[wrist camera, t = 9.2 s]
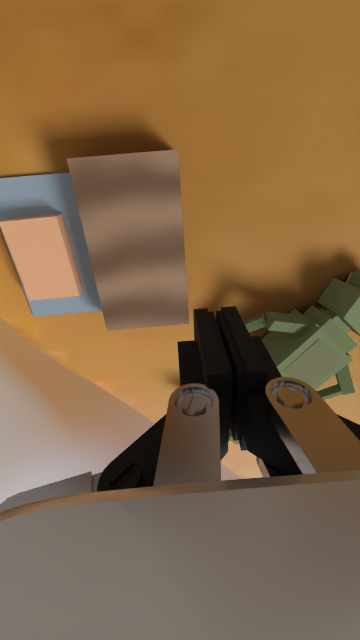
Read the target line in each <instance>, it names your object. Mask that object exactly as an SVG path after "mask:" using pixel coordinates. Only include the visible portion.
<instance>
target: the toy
mask: <svg viewBox="0 0 360 640" xmlns="http://www.w3.org/2000/svg"><path fill="white" fill-rule="evenodd" d="M317 302H318V303H319V304H320V305H321V306H322V307H323V308H324V309H325V310H324V311H323V312H321V311H320V310H319V309H317V308H316V307H314V306H313V305H312V306H311V307H310V308H309V309H308V310H307V311H305V313H304V314H303V315H302V314H301V313H300V312H299V311H298V310H296V309H294V310H293V311H292V312H290V313H288V314H286V313H278V312H270V311H268V312H267V313H266V315H265V313H263V314H261V315H258V316H256V317H253V318H251V319H248V320H246V321H243V322H244V324H245V326H246V328H247V330H248V332H249V333H250V332H253V331H255V330H258V329H261V328H263V327H266V328H267V330H269V331H270V332H269V333H268V334H267V335H266V336H265V337H264V338H263V339H261V340H262V341H263V343H264V345H265V347H266V349H267V350H268V352H269V354H270V356H271V358H272V359H273V361H274V363H275V365H276V367H277V369H278V370H279V372H280V374H281V376H282V377H291V378H296V379H299V380H301V381H303V382H305V383H307V384H308V385H310V386H311V387H312V388H313V389H314V390H315V391H316V389H317V388H318V387H320V386H321V385H322V384H323V383H325V382H326V381H327V380H328V379H330V378H331V377H332V376H333V375H336V378H337V382H338V384H337V385H334V386H331V387H328V388H326V389H323V390H320V391H316V392H317V393H318V394H319V396H320V397H321V398H322V399H323V400H325V399H328V398H331V397H334V396H338V395H341V394H343V395H344V394H349V393H354V392H355V390H354V386H353V383H352V379H351V376H350V371H349V368H348V365H347V364H348V363H350V362H351V361H352V359H350V357H351V356H350V355H349V354H348V353H347V352H349V351H351V350H352V349H353V348H354V347H355V346H357V344H356V343H355V342H354V341H353V340H352V339H351V338H350V337H349V336H348V335H347V334H346V333H347V332H348V331H349V330H352V331H353V332H355V333H356V334H358V335H359V336H360V271H353V272H351V273H350V275H349V277H348V279H347V281H346V283H345V282H343V281H340V280H338V279H336V278H333V280H332V281H331V282H330V284H329V285H328V286H327V288H326V289H325V291H324V292H323V294H322V295H321V297H320V298H319V299H318V301H317ZM229 440H231V441H232V442H234V443H235V444H239V440H237V441H234V440H233V438H232V434H231V430H230V438H229Z"/></svg>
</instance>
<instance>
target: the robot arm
mask: <svg viewBox="0 0 360 640" xmlns="http://www.w3.org/2000/svg"><path fill="white" fill-rule="evenodd" d="M194 338H195V341H181V342H178V355H179V370H180V387H179V388H177V389H176V390H175V391H174V392H173V393H172V394H171V396H170V399H169V404H168V409H167V414H166V415H165V416H164V417H162V418H161V419H160V420H159V421H158V422H157V423H155V424H154V425H153V426H152V427H151V428H150V429H149V430H148V431H146V432H145V433H144V434H143V435H142V436H141V437H139V438H138V439H137V440H136V441H135V442H134V443H133V444H131V445H130V446H129V447H128V448H127V449H126V450H124V451H123V452H122V453H121V454H120V455H119V456H118V457H117V458H115V459H114V460H113V461H112V462H111V463H110V464H109V465H108V466H107V467H106V468H105V469H104V471H103V472H101V473H98V474H95V475H92V473H91V472H88V473H84V474H81V475H78V476H74V477H71V478H68V479H64V480H61V481H58V482H54V483H51V484H48V485H44V486H41V487H38V488H34V489H31V490H28V491H25V492H21V493H18V494H16V495H14V496H12V497H10V498H8V499H6V500H5V501H4V502H3V503H1V504H0V640H360V425H359V424H356V423H354V422H352V421H350V420H348V419H346V418H344V417H342V416H339V415H337V414H335V412H334V411H333V410H332V409H331V408H330V407H329V406H328V405H327V403H326V402H325V401H324V400H323V399H322V398H321V397H320V396H319V394H318V393H317V392H316V391H315V390H314V389H313V388H312V387H311V386H310V385H308V384H307V383H305V382H303V381H301V380H299V379H296V378H291V377H282V376H281V374H280V372H279V370H278V369H277V367H276V365H275V363H274V361H273V359H272V358H271V356H270V354H269V352H268V350H267V349H266V347H265V345H264V343H263V341H262V340H261V338H260V337H259V336H252V337H251V336H250V334H249V332H248V330H247V328H246V326H245V324H244V322H243V320H242V318H241V316H240V314H239V312H238V310H237V308H236V307H235V306H233V307H222V308H221V311H217V312H216V320H215V316H214V313H213V311H212V312H208V309H207V308H204V309H194ZM230 430H231V434H232V438H233V440H234V441H237V440H239V444H240V448H241V450H248V451H249V452H251V453H252V454H254V455H255V456H256V461H257V464H258V467H259V469H260V471H261V473H262V475H263V478H250V479H238V480H225V481H221V462H220V461H221V460H222V458H223V457H224V456H225V455H226V453H227V452H228V441H229V438H230Z"/></svg>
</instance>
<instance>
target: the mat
mask: <svg viewBox="0 0 360 640" xmlns="http://www.w3.org/2000/svg"><path fill="white" fill-rule="evenodd" d="M55 214H63V217H64V220H65V224H66V228H67V231H68V235H69V238H70V242H71V246H72V249H73V253H74V256H75V260H76V264H77V267H78V271H79V274H80V278H81V282H82V285H83V289H84V290H83V291H82V293H81V294H80V296H73V297H63V298H52V299H42V300H32V301H29V298H28V296H27V293H26V291H25V288H24V286H23V283H22V281H21V278H20V275H19V273H18V270H17V268H16V265H15V263H14V260H13V258H12V255H11V252H10V250H9V247H8V245H7V247H8V250H9V252H10V255H11V258H12V260H13V263H14V266H15V268H16V271H17V273H18V276H19V279H20V281H21V284H22V287H23V289H24V292H25V295H26V297H27V300H28V303H29V305H30V308H31V310H32V313H33V316H44V315H56V314H67V313H79V312H91V311H102V307H101V302H100V298H99V294H98V290H97V285H96V281H95V277H94V273H93V269H92V264H91V260H90V256H89V252H88V247H87V243H86V239H85V235H84V231H83V226H82V222H81V218H80V214H79V209H78V205H77V201H76V197H75V193H74V188H73V184H72V180H71V176H70V172H69V173H57V174H45V175H33V176H21V177H9V178H0V221H4V220H7V219H15V218H25V217H35V216H45V215H55ZM0 229H1V227H0ZM1 231H2V229H1ZM2 234H3V232H2ZM3 236H4V234H3ZM4 239H5V237H4ZM5 242H6V240H5ZM6 244H7V242H6Z"/></svg>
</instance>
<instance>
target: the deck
mask: <svg viewBox="0 0 360 640" xmlns="http://www.w3.org/2000/svg"><path fill="white" fill-rule="evenodd" d="M67 163H68V167H69V171H70V176H71V180H72V184H73V188H74V193H75V197H76V201H77V205H78V209H79V214H80V218H81V222H82V226H83V231H84V235H85V239H86V243H87V247H88V252H89V256H90V260H91V264H92V269H93V273H94V277H95V281H96V285H97V290H98V294H99V298H100V302H101V307H102V311H103V315H104V319H105V323H106V328H107V331H109V330H120V329H132V328H143V327H155V326H167V325H178V324H189V313H188V298H187V283H186V267H185V252H184V237H183V221H182V206H181V191H180V176H179V160H178V149H175V150H163V151H151V152H139V153H127V154H115V155H103V156H91V157H79V158H67Z"/></svg>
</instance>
